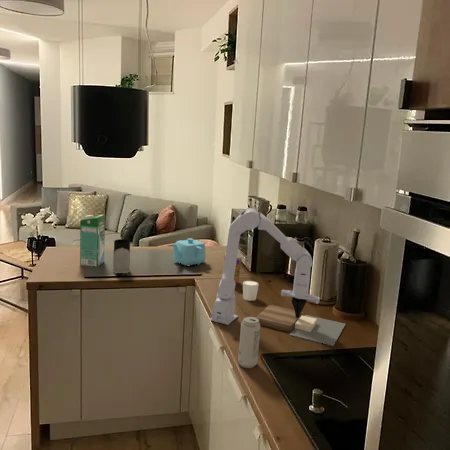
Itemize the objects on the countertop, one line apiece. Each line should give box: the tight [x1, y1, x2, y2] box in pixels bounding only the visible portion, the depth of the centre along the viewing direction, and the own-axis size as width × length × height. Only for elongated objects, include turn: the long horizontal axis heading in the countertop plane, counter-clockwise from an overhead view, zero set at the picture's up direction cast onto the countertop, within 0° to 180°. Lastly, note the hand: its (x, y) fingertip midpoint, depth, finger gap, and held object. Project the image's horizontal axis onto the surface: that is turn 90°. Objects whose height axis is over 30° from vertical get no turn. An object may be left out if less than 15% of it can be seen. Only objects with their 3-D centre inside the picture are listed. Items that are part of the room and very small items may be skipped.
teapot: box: [170, 237, 206, 266], centre depth 252 cm, size 18×16×14 cm
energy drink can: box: [237, 316, 262, 369], centre depth 150 cm, size 6×6×15 cm
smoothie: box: [223, 248, 243, 285], centre depth 226 cm, size 8×8×20 cm
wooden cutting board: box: [255, 304, 304, 333], centre depth 187 cm, size 16×14×2 cm
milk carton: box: [79, 214, 106, 268], centre depth 239 cm, size 9×9×25 cm
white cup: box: [242, 280, 259, 302], centre depth 208 cm, size 7×7×7 cm
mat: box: [289, 314, 347, 347], centre depth 181 cm, size 22×16×1 cm
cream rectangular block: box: [294, 315, 317, 332], centre depth 183 cm, size 9×6×2 cm, turn 156°
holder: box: [111, 238, 131, 274], centre depth 235 cm, size 9×14×15 cm, turn 14°
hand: (297, 316), depth 184 cm, fingers closed
